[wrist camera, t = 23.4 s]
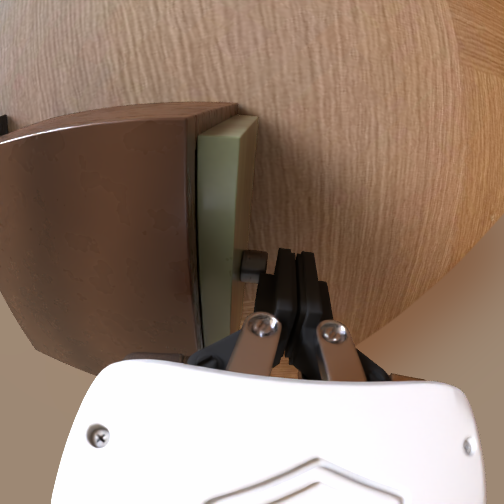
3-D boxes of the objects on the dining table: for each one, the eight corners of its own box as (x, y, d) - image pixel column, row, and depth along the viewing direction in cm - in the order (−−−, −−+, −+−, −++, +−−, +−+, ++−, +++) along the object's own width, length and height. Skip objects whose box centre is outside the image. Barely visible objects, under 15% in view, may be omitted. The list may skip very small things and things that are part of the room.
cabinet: (238, 102, 13) (186, 117, 6) (228, 306, 21) (205, 405, 14) (51, 117, 13) (-44, 158, 6) (84, 280, 22) (35, 349, 14)
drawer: (282, 119, 12) (285, 141, 7) (258, 313, 20) (249, 394, 14) (65, 124, 13) (-15, 157, 7) (97, 285, 20) (57, 345, 15)
